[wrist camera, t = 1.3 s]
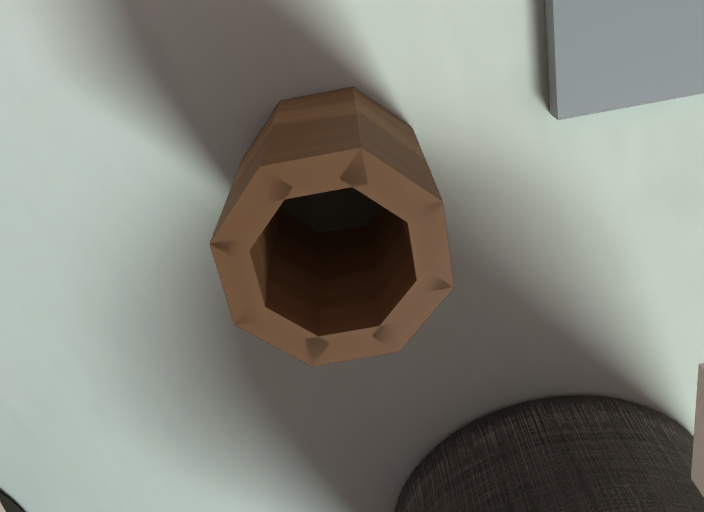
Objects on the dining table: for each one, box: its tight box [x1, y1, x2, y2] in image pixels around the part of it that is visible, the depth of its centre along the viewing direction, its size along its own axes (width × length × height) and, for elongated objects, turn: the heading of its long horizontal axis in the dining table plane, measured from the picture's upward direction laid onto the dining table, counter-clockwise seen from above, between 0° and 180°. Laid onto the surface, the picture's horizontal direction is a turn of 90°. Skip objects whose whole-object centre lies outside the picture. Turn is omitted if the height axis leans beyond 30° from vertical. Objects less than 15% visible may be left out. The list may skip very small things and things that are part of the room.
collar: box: [210, 87, 454, 366], centre depth 23 cm, size 7×7×8 cm
